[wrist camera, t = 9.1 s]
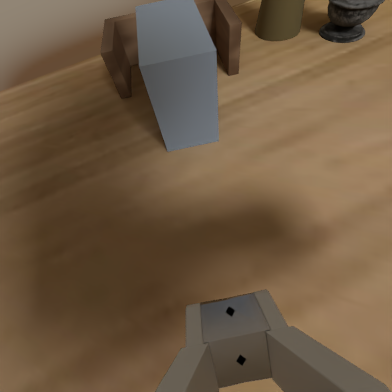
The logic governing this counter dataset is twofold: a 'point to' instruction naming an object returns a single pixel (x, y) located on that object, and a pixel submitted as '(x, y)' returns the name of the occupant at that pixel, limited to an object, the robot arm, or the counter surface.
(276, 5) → the olive pawn
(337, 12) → the grey chess bishop
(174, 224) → the counter surface
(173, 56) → the block
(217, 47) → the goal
